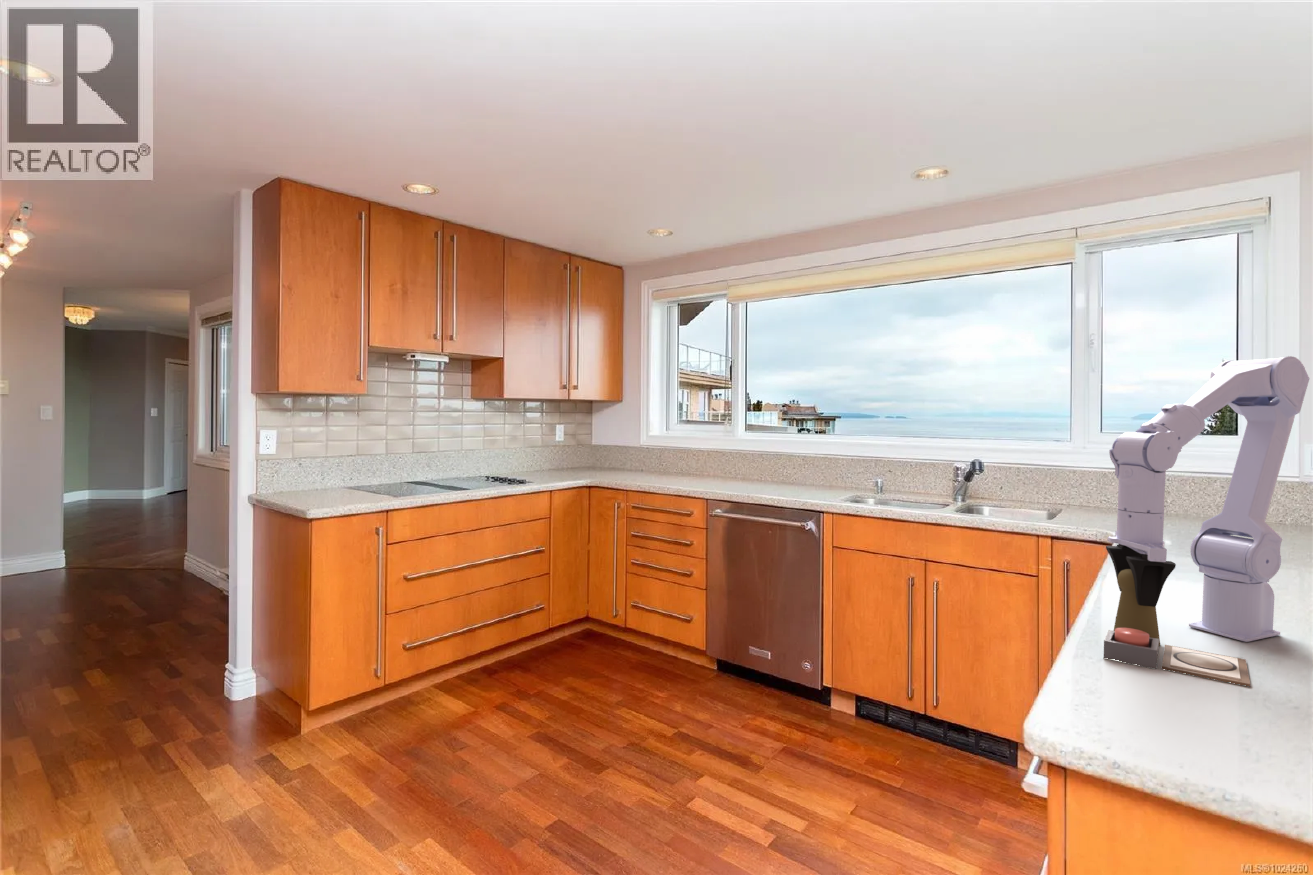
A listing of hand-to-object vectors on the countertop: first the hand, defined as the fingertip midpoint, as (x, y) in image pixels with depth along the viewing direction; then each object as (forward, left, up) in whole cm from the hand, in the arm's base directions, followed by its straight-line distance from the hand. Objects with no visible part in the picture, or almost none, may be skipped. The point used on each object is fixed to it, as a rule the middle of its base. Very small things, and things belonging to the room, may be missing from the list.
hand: (1137, 598), depth 100 cm
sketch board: (+1, +10, -7) cm, 12 cm away
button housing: (+8, +4, -7) cm, 11 cm away
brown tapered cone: (0, 0, -7) cm, 7 cm away
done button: (+8, +4, -5) cm, 10 cm away
